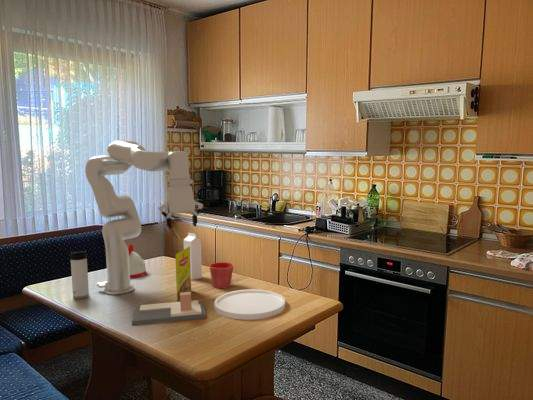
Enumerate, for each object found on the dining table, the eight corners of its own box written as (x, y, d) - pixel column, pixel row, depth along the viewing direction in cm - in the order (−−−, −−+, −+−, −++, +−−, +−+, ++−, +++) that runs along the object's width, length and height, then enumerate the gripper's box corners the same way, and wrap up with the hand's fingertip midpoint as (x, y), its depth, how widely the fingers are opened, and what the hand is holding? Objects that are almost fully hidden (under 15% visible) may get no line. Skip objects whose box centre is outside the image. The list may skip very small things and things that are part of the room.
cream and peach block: (170, 316, 153) (170, 298, 153) (170, 309, 161) (170, 291, 160) (201, 314, 156) (201, 295, 155) (200, 306, 163) (199, 289, 162)
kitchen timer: (148, 270, 221) (147, 241, 219) (142, 278, 207) (141, 247, 206) (121, 270, 220) (120, 242, 219) (113, 278, 207) (111, 248, 205)
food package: (178, 302, 173) (176, 254, 170) (175, 302, 173) (174, 254, 171) (192, 290, 188) (190, 246, 185) (190, 290, 188) (188, 245, 186)
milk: (192, 280, 202) (190, 235, 200) (184, 277, 206) (182, 233, 204) (202, 277, 207) (200, 232, 204) (194, 275, 211) (193, 231, 208)
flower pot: (223, 280, 201) (222, 260, 200) (238, 285, 193) (238, 264, 192) (205, 285, 194) (204, 265, 193) (220, 291, 186) (219, 269, 185)
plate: (252, 327, 149) (252, 320, 148) (199, 308, 167) (199, 302, 166) (299, 304, 170) (299, 298, 169) (248, 290, 188) (248, 285, 188)
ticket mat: (132, 325, 151) (131, 319, 150) (135, 309, 165) (135, 304, 165) (205, 318, 156) (205, 312, 156) (202, 303, 171) (202, 298, 170)
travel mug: (73, 300, 176) (70, 253, 174) (72, 295, 182) (69, 250, 180) (89, 297, 179) (86, 251, 177) (88, 293, 185) (85, 248, 183)
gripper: (199, 181, 171) (201, 223, 173) (155, 184, 165) (158, 227, 166) (204, 182, 164) (206, 226, 166) (158, 185, 158) (161, 230, 159)
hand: (182, 226), depth 166 cm, fingers open, 9 cm apart
